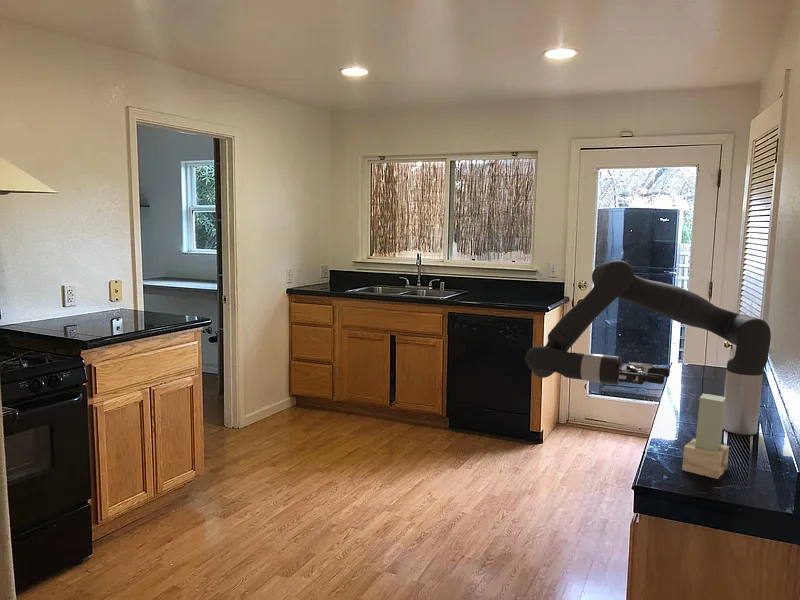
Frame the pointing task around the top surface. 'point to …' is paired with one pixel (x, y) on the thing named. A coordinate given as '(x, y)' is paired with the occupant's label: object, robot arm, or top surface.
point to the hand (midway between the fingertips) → (666, 376)
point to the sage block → (710, 422)
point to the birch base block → (705, 460)
